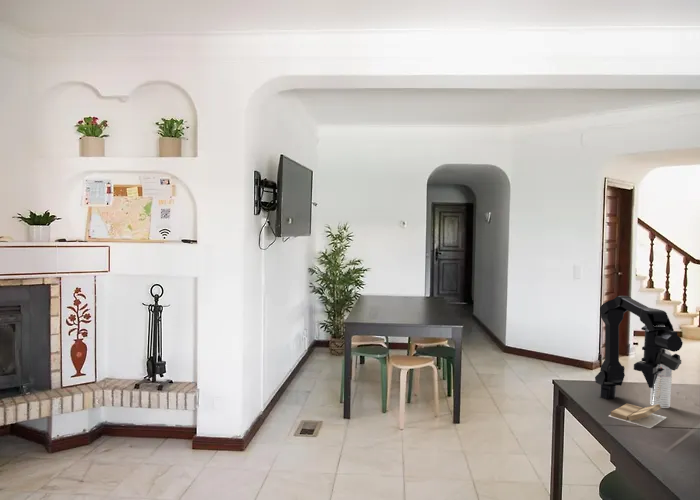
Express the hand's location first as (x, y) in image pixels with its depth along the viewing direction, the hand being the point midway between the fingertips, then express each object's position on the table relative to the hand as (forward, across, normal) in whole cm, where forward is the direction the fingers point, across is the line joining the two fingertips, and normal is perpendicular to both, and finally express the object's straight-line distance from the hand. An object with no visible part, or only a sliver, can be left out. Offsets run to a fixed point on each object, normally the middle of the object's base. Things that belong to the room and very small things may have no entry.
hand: (651, 387), depth 182 cm
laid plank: (+12, 0, +8) cm, 14 cm away
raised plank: (+10, 0, +1) cm, 10 cm away
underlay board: (+13, 0, +4) cm, 13 cm away
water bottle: (+13, +22, +4) cm, 25 cm away
